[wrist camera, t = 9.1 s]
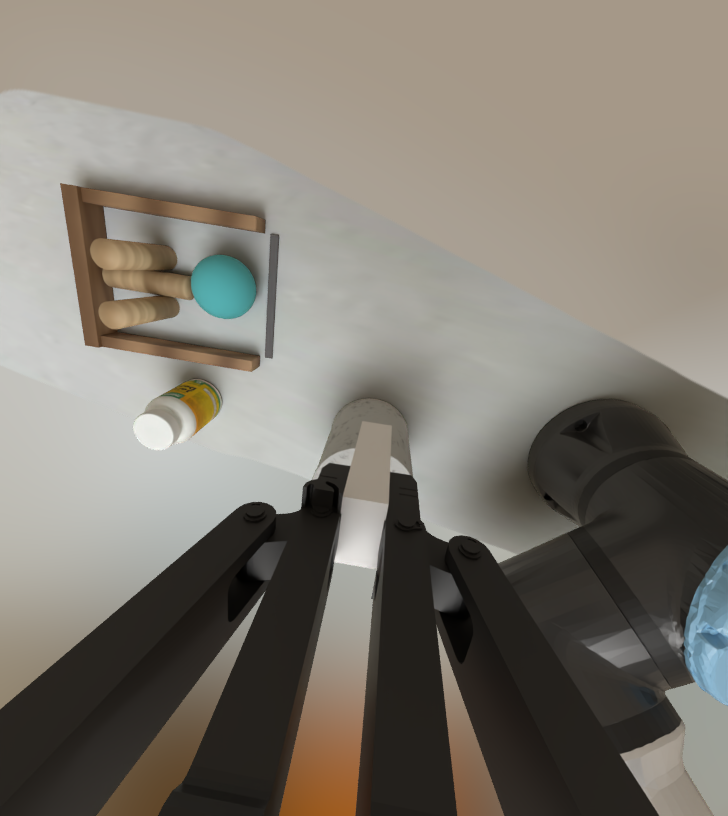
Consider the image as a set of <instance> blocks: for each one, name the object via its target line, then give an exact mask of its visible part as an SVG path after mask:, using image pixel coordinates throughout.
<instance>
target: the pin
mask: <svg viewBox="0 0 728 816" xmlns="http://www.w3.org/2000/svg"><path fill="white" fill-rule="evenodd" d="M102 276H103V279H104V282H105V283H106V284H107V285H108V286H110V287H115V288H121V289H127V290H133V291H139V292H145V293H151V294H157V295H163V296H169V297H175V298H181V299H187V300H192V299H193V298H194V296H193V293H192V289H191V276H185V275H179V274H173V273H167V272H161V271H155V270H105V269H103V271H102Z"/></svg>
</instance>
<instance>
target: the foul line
mask: <svg viewBox="0 0 728 816" xmlns="http://www.w3.org/2000/svg"><path fill="white" fill-rule="evenodd" d="M278 245H279V236H278V235H272V234H271V236H270V258H269V280H268V302H267V323H266V345H265V357H266V358H272V355H273V337H274V318H275V300H276V282H277V263H278Z"/></svg>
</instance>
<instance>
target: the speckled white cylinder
mask: <svg viewBox="0 0 728 816" xmlns="http://www.w3.org/2000/svg"><path fill="white" fill-rule="evenodd" d="M362 421H366V422H372V423H378V424H384V425H391V426H392V435H391V459H390V472H395V473H401V474H407V475H412V477H413V473H412V465H411V456H410V448H409V439H408V427H407V424H406V421H405V419H404V417H403V416H402V414H401V413H400V412H399V411H398V410H397V409H396V408H395V407H394V406H392V405H391V404H389V403H387V402H384V401H382V400H379V399H372V398H368V399H360V400H356V401H353V402H351V403H349V404H347V405H345V406H344V407H343V408H342V409H341V410H340V411H339V412H338V414H337V415H336V417H335V418H334V421H333V424H332V428H331V431H330V434H329V437H328V440H327V442H326V445H325V448H324V451H323V454H322V456H321V459H320V462H319V465H318V467H317V469H316V470H315V473H314V476H313V478H312V480H314V479H318V477H319V474H320V472H321V470H322V468H323V467H324V466H325V465H327V464H328V463H335V464H341V465H347V466H351V463H352V459H353V455H354V451H355V447H356V443H357V440H358V436H359V432H360V428H361V424H362Z"/></svg>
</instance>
